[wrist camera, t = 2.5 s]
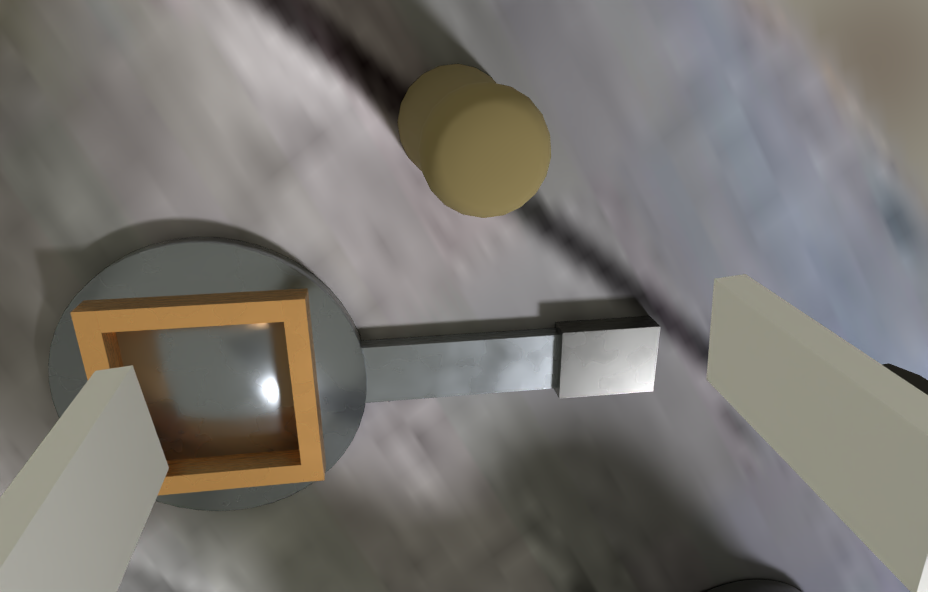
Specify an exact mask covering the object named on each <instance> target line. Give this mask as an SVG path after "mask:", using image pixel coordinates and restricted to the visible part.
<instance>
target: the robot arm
mask: <svg viewBox="0 0 928 592" xmlns="http://www.w3.org/2000/svg"><path fill="white" fill-rule="evenodd" d="M707 380H708V381H709V382H710V383H711V385H712V386H713V387H714V388H715V389H716V390H717V391H718V392H719V393H720V394H721V395H722V396H723V397H724V398H725V399H726V400H727V401H728V402H729V403H730V404H731V405H732V406H733V407H734V408H735V409H736V411H737V412H738V413H739V414H740V415H741V416H742V417H743V418H744V419H745V420H746V421H747V422H748V423H749V424H750V425H751V426H752V427H753V428H754V429H755V430H756V431H757V432H758V433H759V434H760V435H761V436H762V438H763V439H764V440H765V441H766V442H767V443H768V444H769V445H770V446H771V447H772V448H773V449H774V450H775V451H776V452H777V453H778V454H779V455H780V456H781V457H782V458H783V459H784V460H785V461H786V462H787V464H788V465H789V466H790V467H791V468H792V469H793V470H794V471H795V472H796V473H797V474H798V475H799V476H800V477H801V478H802V479H803V480H804V481H805V482H806V483H807V484H808V485H809V486H810V487H811V488H812V490H813V491H814V492H815V493H816V494H817V495H818V496H819V497H820V498H821V499H822V500H823V501H824V502H825V503H826V504H827V505H828V506H829V507H830V508H831V509H832V510H833V511H834V512H835V513H836V514H837V515H838V517H839V518H840V519H841V520H842V521H843V522H844V523H845V524H846V525H847V526H848V527H849V528H850V529H851V530H852V531H853V532H854V533H855V534H856V535H857V536H858V537H859V538H860V539H861V540H862V541H863V543H864V544H865V545H866V546H867V547H868V548H869V549H870V550H871V551H872V552H873V553H874V554H875V555H876V556H877V557H878V558H879V559H880V560H881V561H882V562H883V563H884V564H885V565H886V566H887V567H888V569H889V570H890V571H891V572H892V573H893V574H894V575H895V576H896V577H897V578H898V579H899V580H900V581H901V582H902V583H903V584H904V585H905V586H906V587H907V588H908V589H909V590H910V591H911V592H928V380H926V379H925V378H923V377H922V376H920V375H917V374H915V373H912V372H910V371H907V370H904V369H902V368H899V367H897V366H894V365H891V364H883V365H881V364H880V363H878V362H877V361H875V360H874V359H872V358H871V357H869V356H868V355H866V354H865V353H863V352H862V351H860V350H859V349H857V348H856V347H854V346H853V345H851V344H850V343H848V342H847V341H845V340H844V339H842V338H841V337H839V336H838V335H836V334H835V333H833V332H832V331H830V330H829V329H827V328H826V327H824V326H823V325H821V324H819V323H818V322H816V321H815V320H813V319H812V318H810V317H809V316H807V315H806V314H804V313H803V312H801V311H800V310H798V309H797V308H795V307H794V306H792V305H791V304H789V303H788V302H786V301H785V300H783V299H782V298H780V297H779V296H777V295H776V294H774V293H773V292H771V291H770V290H768V289H767V288H765V287H764V286H762V285H761V284H759V283H758V282H756V281H755V280H753V279H752V278H750V277H749V276H747V275H746V274H743V275H737V276H730V277H723V278H717V279H714V290H713V303H712V316H711V329H710V342H709V355H708V368H707ZM168 469H169V467H168V464H167V461H166V458H165V455H164V453H163V450H162V447H161V444H160V441H159V438H158V436H157V433H156V430H155V427H154V424H153V421H152V419H151V416H150V413H149V410H148V407H147V404H146V402H145V399H144V396H143V393H142V390H141V387H140V385H139V382H138V379H137V376H136V373H135V370H134V368H133V365H131V366H125V367H118V368H111V369H105V370H98V371H95V372H94V373H93V375H92V376H91V377H90V379H89V380H88V381H87V383H86V384H85V385H84V387H83V388H82V389H81V391H80V392H79V393H78V395H77V396H76V397H75V399H74V400H73V401H72V403H71V404H70V405H69V407H68V408H67V409H66V411H65V412H64V413H63V415H62V416H61V417H60V419H59V420H58V421H57V423H56V424H55V425H54V427H53V428H52V429H51V431H50V432H49V433H48V435H47V436H46V437H45V439H44V440H43V441H42V443H41V444H40V445H39V447H38V448H37V449H36V451H35V452H34V453H33V455H32V456H31V457H30V459H29V460H28V461H27V463H26V464H25V465H24V467H23V468H22V469H21V471H20V472H19V473H18V475H17V476H16V477H15V479H14V480H13V481H12V483H11V484H10V485H9V487H8V488H7V490H6V491H5V492H4V494H3V495H2V496H1V498H0V592H117V590H118V588H119V585H120V583H121V581H122V578H123V576H124V573H125V571H126V569H127V566H128V564H129V562H130V559H131V557H132V555H133V552H134V550H135V547H136V545H137V543H138V540H139V538H140V536H141V533H142V531H143V529H144V526H145V524H146V521H147V519H148V517H149V514H150V512H151V510H152V507H153V505H154V503H155V500H156V498H157V495H158V493H159V491H160V488H161V486H162V484H163V481H164V479H165V476H166V474H167V472H168ZM707 592H801V591H799V590H798V589H796V588H795V587H793V586H790V585H788V584H785V583H782V582H778V581H772V580H744V581H738V582H733V583H729V584H725V585H722V586H719V587H716V588H714V589H711V590H709V591H707Z"/></svg>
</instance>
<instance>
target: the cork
mask: <svg viewBox="0 0 928 592" xmlns="http://www.w3.org/2000/svg"><path fill="white" fill-rule="evenodd" d="M398 129H399V136H400V141H401V143H402V146H403V148H404V150H405V152H406V154H407V156H408V158H409V159H410V160H411V161H412V162H413V163H414V164H415V165H416V166H417V167H418V168H419V169H420V170H421V171H422V172H423V175H424V177H425V179H426V181H427V183H428V185H429V187H430V189H431V191H432V192H433V193H434V194H435V195H436V196H437V197H438V198H439V199H440V200H441V201H442V202H443V203H444V205H446V206H448V207H450V208H452V209H454V210H455V211H457V212H459V213H461V214H464V215H470V216H475V217H481V218H487V217H494V216H501V215H505V214H507V213H509V212H511V211H513V210H515V209H518V208H520V207H521V206H523V205H524V204H525V203H526V202H527V201H528V200H529V199H530V198H531V197H532V196H534V195H535V194H536V192H537V191H538V189H539V187H540V186H541V184H542V182H543V181H544V179H545V177H546V175H547V171H548V167H549V163H550V159H551V145H550V134H549V131H548V128H547V126H546V123H545V120H544V118H543V115H542V113H541V112H540V111H539V110H538V108H537V107H536V106H535V105H534V103H533V102H532V101H531V100H530V98H528V97H527V96H525V95H524V94H522V93H520V92H519V91H517V90H516V89H514V88H512V87H510V86H505V85H501V84H496V82H495V81H494V80H493V79H492V77H490V76H488V75H487V74H485V73H484V72H482V71H480V70H479V69H477V68H475V67H470V66H466V65H461V64H451V65H443V66H438V67H436V68H434V69H432V70H430V71H428V72H426V73H424V74H422V75H421V76H420V77H419V78H418V79H417V80H416V81H415V82H414V83H413V84H412V85H411V86H410V87H409V89H408V91H407V93H406V95H405V97H404V99H403V101H402V102H401V106H400V111H399V117H398Z"/></svg>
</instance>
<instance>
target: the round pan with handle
mask: <svg viewBox="0 0 928 592" xmlns="http://www.w3.org/2000/svg"><path fill="white" fill-rule="evenodd" d="M659 336H660V326H659V325H658V324H657V323H656V322H655V321H654V320H653V319H652V318H651V317H650V316H643V317H628V318H612V319H596V320H581V321H565V322H555V328H549V329H534V330H519V331H503V332H488V333H473V334H457V335H442V336H427V337H411V338H396V339H381V340H365V341H361V339H360V335H359V333H358V331H357V329H356V326H355V324H354V322H353V320H352V318H351V316H350V315H349V313H348V312H347V310H346V309H345V307H344V306H343V304H342V303H341V301H340V300H339V299H338V298H337V297H336V296H335V294H334V293H333V292H332V291H331V290H330V289H329V288H328V287H327V286H326V285H325V284H324V283H323V282H322V281H321V280H320V279H318V278H317V277H316V276H315V275H314V274H312V273H311V272H309V271H308V270H307V269H305V268H304V267H302V266H301V265H300V264H298V263H296V262H294V261H292V260H291V259H289V258H287V257H285V256H283V255H281V254H279V253H277V252H274V251H272V250H269V249H266V248H264V247H261V246H258V245H254V244H250V243H247V242H243V241H239V240H232V239H224V238H216V237H192V238H182V239H173V240H169V241H165V242H160V243H156V244H152V245H150V246H147V247H144V248H142V249H139V250H136V251H134V252H132V253H130V254H128V255H126V256H124V257H122V258H121V259H119V260H117V261H115V262H114V263H112V264H111V265H110V266H108V267H107V268H106V269H104V270H103V271H102V272H100V273H99V274H98V275H97V276H95V277H94V278H93V279H92V280H91V281H90V282H89V283H88V284H87V285H86V286H85V287H84V288H83V289H82V290H81V291H80V292H79V293H78V294H77V295H76V296H75V297H74V299H73V300H72V301H71V303H70V304H69V306H68V307H67V308H66V310H65V311H64V313H63V315H62V317H61V319H60V321H59V323H58V325H57V327H56V330H55V333H54V337H53V340H52V343H51V348H50V355H49V363H48V366H49V384H50V389H51V394H52V399H53V402H54V405H55V408H56V411H57V413H58V416H59V418H60V417H61V416H62V415H63V413H64V412H65V411H66V409H67V408H68V407H69V405H70V404H71V403H72V401H73V400H74V399H75V397H76V396H77V395H78V393H79V392H80V391H81V389H82V388H83V387H84V385H85V384H86V383H87V381H88V380H89V379H90V377H91V376H92V375H93V373H94V372H95V371H98V370H105V369H111V368H118V367H125V366H131V365H133V368H134V370H135V373H136V376H137V379H138V382H139V385H140V387H141V390H142V393H143V396H144V399H145V402H146V404H147V407H148V410H149V413H150V416H151V419H152V421H153V424H154V427H155V430H156V433H157V436H158V438H159V441H160V444H161V447H162V450H163V453H164V455H165V458H166V461H167V464H168V467H169V469H168V472H167V474H166V476H165V479H164V481H163V484H162V486H161V488H160V491H159V493H158V495H157V498H156V501H158V502H162V503H165V504H169V505H173V506H177V507H182V508H189V509H195V510H209V511H226V510H239V509H246V508H253V507H257V506H261V505H265V504H269V503H272V502H275V501H278V500H280V499H283V498H286V497H288V496H290V495H292V494H294V493H296V492H298V491H300V490H302V489H304V488H305V487H307V486H308V485H310V484H311V483H313V482H314V481H321V480H324V479H325V473H326V472H327V471H328V470H329V469H330V468H332V466H333V465H334V464H335V463H336V462H337V461H338V460H339V459H340V457H341V456H342V455H343V454H344V452H345V451H346V449H347V448H348V446H349V445H350V443H351V442H352V440H353V438H354V436H355V434H356V432H357V430H358V428H359V425H360V422H361V419H362V415H363V412H364V408H365V403H370V402H383V401H395V400H408V399H421V398H434V397H447V396H460V395H473V394H486V393H499V392H512V391H525V390H537V389H550V388H554V390H555V392H556V394H557V395H558V397H559V399H561V398H573V397H586V396H599V395H611V394H624V393H636V392H649V391H653V387H654V378H655V370H656V361H657V353H658V344H659Z"/></svg>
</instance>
